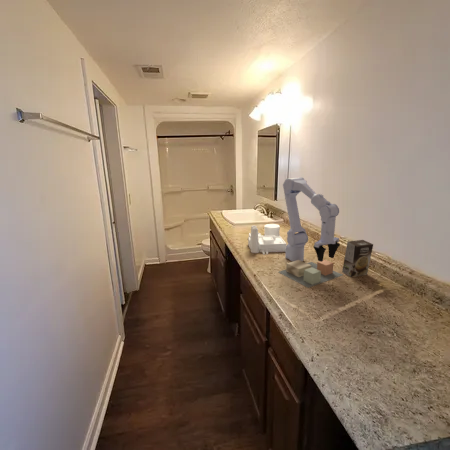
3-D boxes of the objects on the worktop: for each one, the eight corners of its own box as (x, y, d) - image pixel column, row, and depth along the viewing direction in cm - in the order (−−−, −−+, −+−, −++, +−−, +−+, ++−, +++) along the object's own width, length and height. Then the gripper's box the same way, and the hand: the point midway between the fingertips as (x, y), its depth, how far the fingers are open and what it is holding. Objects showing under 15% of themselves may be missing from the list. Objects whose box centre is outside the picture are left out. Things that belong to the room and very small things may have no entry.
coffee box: (351, 279, 120) (356, 246, 115) (341, 272, 126) (346, 241, 121) (367, 276, 122) (374, 244, 117) (357, 270, 128) (363, 239, 123)
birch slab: (286, 271, 128) (286, 263, 127) (298, 267, 132) (298, 259, 131) (298, 277, 121) (298, 269, 120) (310, 273, 125) (311, 265, 124)
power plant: (293, 254, 153) (294, 229, 150) (251, 255, 153) (252, 231, 149) (279, 236, 187) (279, 216, 184) (245, 237, 187) (245, 217, 183)
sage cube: (303, 280, 118) (304, 269, 117) (311, 277, 120) (312, 267, 119) (312, 284, 114) (313, 273, 112) (320, 281, 116) (321, 271, 115)
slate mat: (277, 273, 127) (277, 271, 127) (311, 263, 139) (311, 261, 138) (308, 289, 111) (308, 287, 111) (343, 276, 123) (343, 274, 122)
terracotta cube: (316, 271, 126) (317, 261, 125) (323, 269, 129) (324, 259, 127) (325, 275, 122) (326, 265, 121) (332, 273, 125) (333, 263, 123)
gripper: (324, 235, 113) (322, 265, 117) (345, 230, 121) (343, 258, 124) (311, 232, 119) (309, 260, 123) (332, 227, 127) (330, 254, 130)
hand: (325, 259), depth 124 cm, fingers open, 7 cm apart
